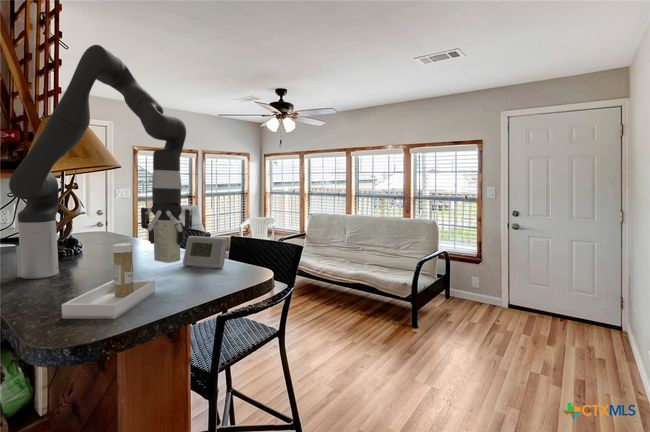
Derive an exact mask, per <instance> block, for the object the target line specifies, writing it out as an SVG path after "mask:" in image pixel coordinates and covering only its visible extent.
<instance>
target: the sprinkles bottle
mask: <svg viewBox="0 0 650 432" xmlns="http://www.w3.org/2000/svg"><path fill="white" fill-rule="evenodd" d="M133 251H134V245H133V243H128V242H127V243H126V242H125V243H122V242H121V243H116V244H113V245H112V253H113V277H114V278H113V280H114V283H115V296H117V297H126V296H128V295H129V294H131V293H133V292H134V288H133V281H134V266H133V265H134V264H133V262H134V261H133Z"/></svg>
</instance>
